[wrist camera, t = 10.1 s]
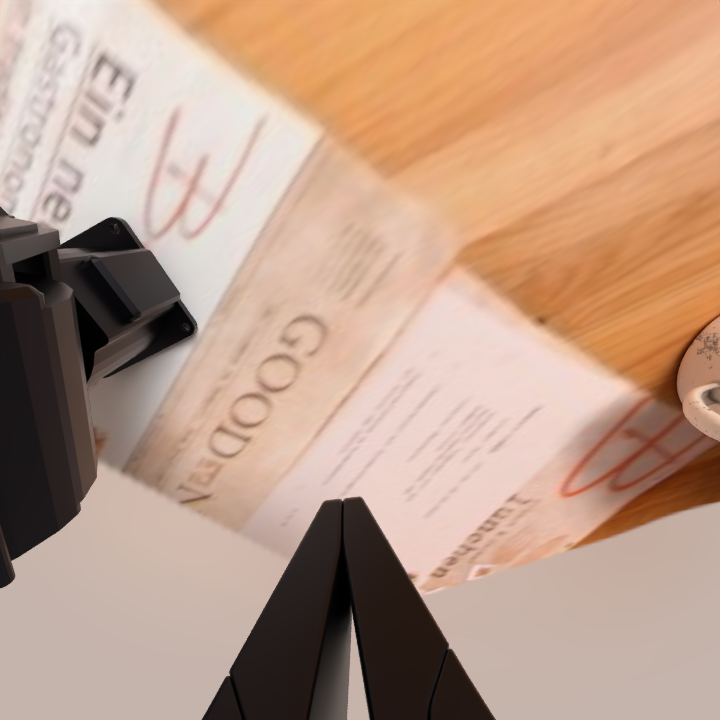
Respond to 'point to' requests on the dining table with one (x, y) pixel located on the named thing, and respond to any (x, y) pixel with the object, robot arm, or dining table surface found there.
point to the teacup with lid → (702, 381)
